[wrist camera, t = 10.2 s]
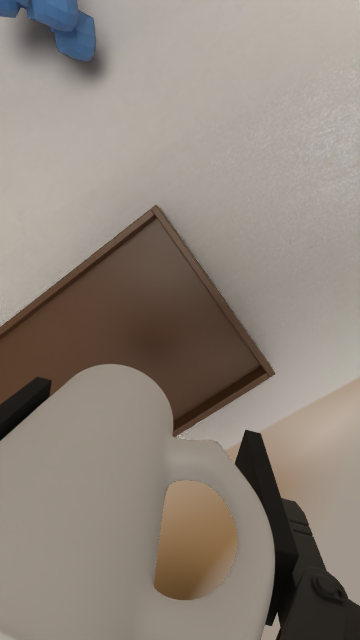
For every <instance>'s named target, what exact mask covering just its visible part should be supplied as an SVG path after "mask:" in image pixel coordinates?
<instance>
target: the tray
mask: <svg viewBox="0 0 360 640" xmlns="http://www.w3.org/2000/svg"><path fill="white" fill-rule="evenodd" d="M103 364H118V365H124V366H128V367H131V368H134V369H136V370H138V371H140V372H142V373H144V374H146V375H147V376H148V377H150V378H151V379H152V380H153V381H154V382H156V383H157V385H158V386H159V387H160V388H161V389H162V391H163V392H164V394H165V395H166V397H167V399H168V401H169V404H170V407H171V410H172V414H173V434H172V436H173V437H176V436H177V435H179V434H180V433H182V432H184V431H185V430H187V429H188V428H190V427H192V426H193V425H195V424H196V423H198V422H200V421H201V420H203V419H204V418H206V417H208V416H209V415H211V414H212V413H214V412H216V411H217V410H219V409H220V408H222V407H224V406H225V405H227V404H228V403H230V402H232V401H233V400H235V399H236V398H238V397H240V396H241V395H243V394H244V393H246V392H248V391H249V390H251V389H252V388H254V387H256V386H257V385H259V384H261V383H262V382H264V381H265V380H267V379H269V378H270V377H272V376H273V375H275V372H274V371H273V369H272V367H271V365H270V364H269V363H268V361H267V360H266V358H265V357H264V355H263V354H262V353H261V351H260V350H259V348H258V347H257V345H256V344H255V343H254V341H253V340H252V338H251V337H250V336H249V334H248V333H247V331H246V330H245V328H244V327H243V326H242V324H241V323H240V321H239V320H238V318H237V317H236V316H235V314H234V313H233V311H232V310H231V309H230V307H229V306H228V304H227V303H226V301H225V300H224V299H223V297H222V296H221V294H220V293H219V291H218V290H217V289H216V287H215V286H214V284H213V283H212V282H211V280H210V279H209V277H208V276H207V274H206V273H205V272H204V270H203V269H202V267H201V266H200V264H199V263H198V262H197V260H196V259H195V257H194V256H193V255H192V253H191V252H190V250H189V249H188V247H187V246H186V245H185V243H184V242H183V240H182V239H181V237H180V236H179V235H178V233H177V232H176V230H175V229H174V228H173V226H172V225H171V223H170V222H169V220H168V219H167V218H166V216H165V215H164V213H163V212H162V211H161V209H160V208H159V207H158V206H157V205H155V206H154V207H153V208H151V209H150V210H149V211H148V212H146V213H145V214H144V215H142V216H141V217H140V218H139V219H137V220H136V221H135V222H133V223H132V224H131V225H130V226H128V227H127V228H126V229H125V230H123V231H122V232H121V233H119V234H118V235H117V236H116V237H114V238H113V239H112V240H111V241H109V242H108V243H107V244H105V245H104V246H103V247H102V248H100V249H99V250H98V251H97V252H95V253H94V254H93V255H91V256H90V257H89V258H88V259H86V260H85V261H84V262H83V263H81V264H80V265H79V266H77V267H76V268H75V269H74V270H72V271H71V272H70V273H69V274H67V275H66V276H65V277H63V278H62V279H61V280H60V281H58V282H57V283H56V284H55V285H53V286H52V287H51V288H49V289H48V290H47V291H46V292H44V293H43V294H42V295H41V296H39V297H38V298H37V299H35V300H34V301H33V302H32V303H30V304H29V305H28V306H27V307H25V308H24V309H23V310H21V311H20V312H19V313H18V314H16V315H15V316H14V317H13V318H11V319H10V320H9V321H7V322H6V323H5V324H4V325H2V326H1V327H0V404H2V403H3V402H4V401H5V400H7V399H8V398H9V397H11V396H12V395H13V394H15V393H16V392H17V391H19V390H20V389H21V388H23V387H24V386H25V385H27V384H28V383H29V382H31V381H32V380H33V379H35V378H36V377H41V378H45V379H49V380H52V384H51V390H50V396H52V395H53V394H54V393H55V392H57V391H58V390H59V389H60V388H61V387H62V386H63V385H65V384H66V383H67V382H68V381H69V380H70V379H71V378H72V377H74V376H75V375H77V374H78V373H80V372H81V371H83V370H85V369H87V368H90V367H93V366H97V365H103ZM50 396H49V397H50Z"/></svg>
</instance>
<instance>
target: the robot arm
mask: <svg viewBox="0 0 360 640" xmlns="http://www.w3.org/2000/svg"><path fill="white" fill-rule="evenodd" d="M51 384H52V380H49V379H45V378H41V377H36V378H35V379H33V380H32V381H31V382H29V383H28V384H27V385H25V386H24V387H23V388H21V389H20V390H19V391H17V392H16V393H15V394H13V395H12V396H11V397H9V398H8V399H7V400H5V401H4V402H3V403H2V404H0V441H1V440H2V439H3V438H4V437H5V436H7V435H8V434H9V433H10V432H11V431H12V430H13V429H14V428H16V427H17V426H18V425H19V424H20V423H21V422H22V421H23V420H24V419H26V418H27V417H28V416H29V415H30V414H31V413H32V412H33V411H34V410H36V409H37V408H38V407H39V406H40V405H41V404H42V403H43V402H44V401H46V400H47V399H48V398H49V396H50V390H51ZM235 465H236V466H237V468H238V469H239V470H240V472H241V473H242V474H243V476H244V477H245V478H246V480H247V481H248V482H249V484H250V485H251V487H252V488H253V490H254V491H255V493H256V495H257V496H258V498H259V500H260V502H261V504H262V506H263V508H264V510H265V513H266V515H267V518H268V521H269V524H270V528H271V532H272V536H273V542H274V550H275V573H274V584H273V590H272V596H271V601H270V606H269V610H268V614H267V618H266V622H265V625H269V626H272V624H273V622H274V619H275V616H276V614H277V612H278V617H279V622H280V627H281V628H280V630H279V633H278V635H277V638H276V640H360V606H359V605H357V604H356V603H354V602H352V601H351V600H349V599H348V596H347V594H346V592H345V590H344V588H343V586H342V585H341V584H340V583H339V581H338V580H337V579H336V578H335V577H334V576H332V575H331V574H330V573H329V572H327V571H326V568H325V565H324V563H323V560H322V558H321V555H320V553H319V550H318V548H317V545H316V542H315V540H314V537H312V532H311V529H310V527H309V524H308V521H307V519H306V516H305V514H304V512H303V511H302V510H301V508H300V507H299V506H298V504H297V503H296V502H295V501H290V500H286V499H283V498H281V496H280V493H279V490H278V487H277V484H276V480H275V477H274V474H273V471H272V468H271V465H270V462H269V459H268V455H267V452H266V449H265V446H264V443H263V439H262V437H261V434H260V433H256V432H252V431H249V430H245V433H244V436H243V439H242V442H241V446H240V449H239V452H238V455H237V458H236V461H235Z"/></svg>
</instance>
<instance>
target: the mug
mask: <svg viewBox="0 0 360 640" xmlns="http://www.w3.org/2000/svg"><path fill="white" fill-rule="evenodd" d="M172 434H173V414H172V410H171V407H170V404H169V401H168V399H167V397H166V395H165V394H164V392H163V391H162V389H161V388H160V387H159V386H158V385H157V383H156V382H154V381H153V380H152V379H151V378H150V377H148V376H147V375H146V374H144V373H142V372H140V371H138V370H136V369H134V368H131V367H128V366H124V365H118V364H103V365H97V366H93V367H90V368H87V369H85V370H83V371H81V372H80V373H78V374H77V375H75V376H74V377H72V378H71V379H70V380H69V381H68V382H67V383H66V384H65V385H63V386H62V387H61V388H60V389H59V390H58V391H57V392H55V393H54V394H53V395H52V396H50V397H49V398H48V399H47V400H46V401H44V402H43V403H42V404H41V405H40V406H39V407H38V408H37V409H36V410H34V411H33V412H32V413H31V414H30V415H29V416H28V417H27V418H26V419H24V420H23V421H22V422H21V423H20V424H19V425H18V426H17V427H16V428H14V429H13V430H12V431H11V432H10V433H9V434H8V435H7V436H5V437H4V438H3V439H2V440H1V441H0V640H261V636H262V633H263V629H264V626H265V622H266V618H267V614H268V610H269V606H270V601H271V596H272V590H273V584H274V573H275V550H274V542H273V536H272V532H271V528H270V524H269V521H268V518H267V515H266V513H265V510H264V508H263V506H262V504H261V502H260V500H259V498H258V496H257V495H256V493H255V491H254V490H253V488H252V487H251V485H250V484H249V482H248V481H247V480H246V478H245V477H244V476H243V474H242V473H241V472H240V470H239V469H238V468H237V466H236V465H235V464H234V463H233V462H232V460H231V459H230V457H229V456H228V455H227V453H226V452H225V451H224V449H223V448H222V447H221V445H220V444H219V443H218V442H216V441H213V440H183V439H178V438H175V437H173V436H172ZM183 480H191V481H199V482H202V483H205V484H206V485H208V486H210V487H211V488H212V489H214V490H215V491H216V492H217V493H218V494H219V495H220V496H221V497H222V499H223V500H224V501H225V503H226V504H227V506H228V508H229V511H230V513H231V515H232V518H233V520H234V524H235V527H236V531H237V537H238V547H237V553H236V556H235V560H234V563H233V565H232V567H231V570H230V572H229V574H228V575H227V577H226V579H225V580H224V581H223V582H222V584H220V586H219V587H218V588H217V589H216V590H214V591H213V592H211V593H210V594H208V595H207V596H205V597H203V598H199V599H195V600H190V601H187V600H175V599H171V598H169V597H166V596H163V595H162V594H161V593H159V592H158V591H157V590H155V588H154V578H155V570H156V561H157V554H158V546H159V537H160V529H161V521H162V512H163V505H164V499H165V495H166V491H167V489H168V487H169V485H170V484H172V483H173V482H176V481H183Z"/></svg>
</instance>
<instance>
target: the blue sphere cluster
mask: <svg viewBox="0 0 360 640" xmlns="http://www.w3.org/2000/svg"><path fill="white" fill-rule="evenodd" d="M20 7H22V8H24V9H26V10H27V13H28V18H30V19H32V20H34V21H36V22H39V23H44V24H46V25H48V26H49V28H50V31H52V32H54V36H55V42H56V47H57V49H58V51H59V52H61V53H63V54H65V55H67V56H69V57H72V58H74V59H76V60H82V61H90V60H91V58H92V57H93V56H94V53H95V43H96V41H95V28H94V19H93V18H92V17H90V16H88V15H87V14H85V13H83V12H81V11H79V10H78V4H77V0H0V16H3V17H11V18H15V17H16V16H17V14H18V12H19V9H20Z"/></svg>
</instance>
